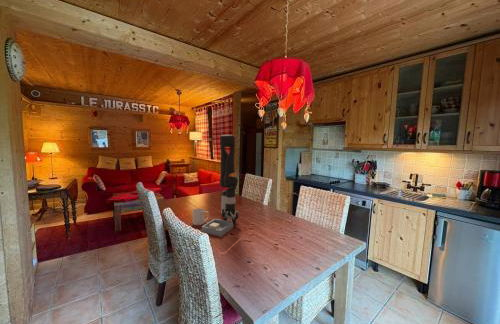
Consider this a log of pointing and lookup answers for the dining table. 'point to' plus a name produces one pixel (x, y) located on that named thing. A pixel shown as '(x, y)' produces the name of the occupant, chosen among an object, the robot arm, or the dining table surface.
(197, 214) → the mug
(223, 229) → the crate
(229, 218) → the tin
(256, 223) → the dining table surface
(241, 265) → the dining table surface
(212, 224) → the lid
